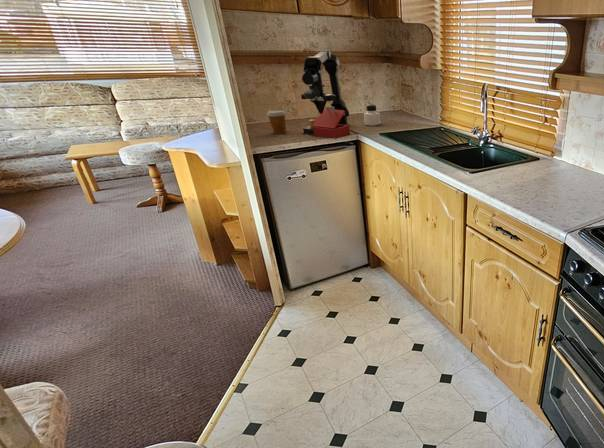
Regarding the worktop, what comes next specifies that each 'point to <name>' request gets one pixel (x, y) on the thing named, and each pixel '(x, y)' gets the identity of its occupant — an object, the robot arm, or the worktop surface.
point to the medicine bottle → (371, 116)
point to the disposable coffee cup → (277, 121)
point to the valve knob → (312, 122)
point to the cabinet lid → (329, 118)
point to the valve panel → (308, 130)
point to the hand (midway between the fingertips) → (321, 113)
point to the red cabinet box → (332, 131)
